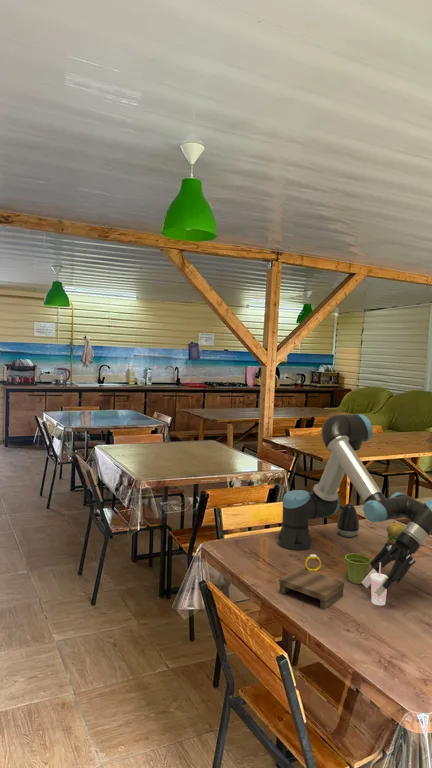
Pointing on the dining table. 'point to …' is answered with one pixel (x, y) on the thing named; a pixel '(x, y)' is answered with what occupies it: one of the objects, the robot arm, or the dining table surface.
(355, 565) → the plant pot
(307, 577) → the walnut shelf
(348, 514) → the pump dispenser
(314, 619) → the dining table surface
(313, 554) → the watch
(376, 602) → the beverage cup
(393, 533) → the hamburger
